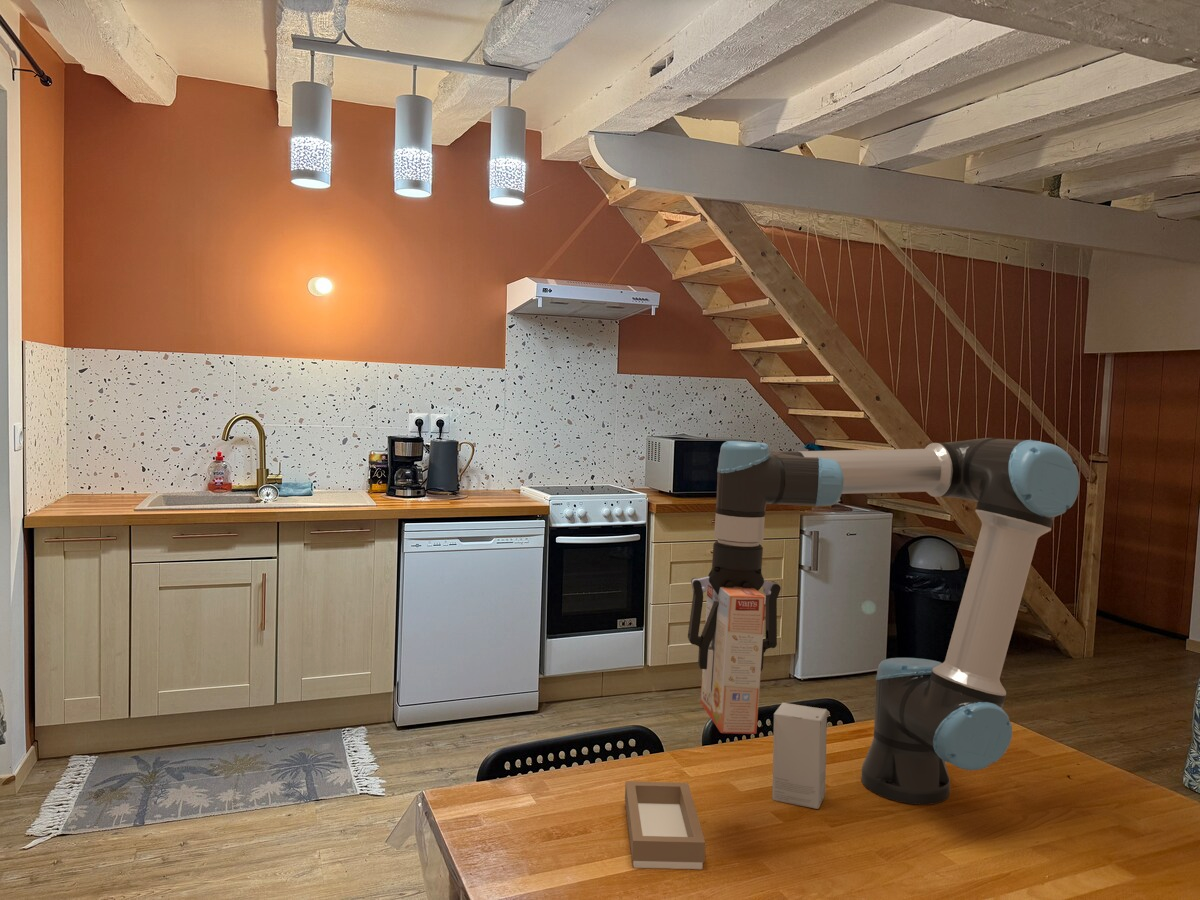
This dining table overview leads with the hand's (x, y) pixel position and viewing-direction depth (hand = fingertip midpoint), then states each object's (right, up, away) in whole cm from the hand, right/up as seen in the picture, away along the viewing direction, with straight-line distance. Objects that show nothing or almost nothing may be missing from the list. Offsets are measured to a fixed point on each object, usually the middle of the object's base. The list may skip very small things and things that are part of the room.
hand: (728, 690), depth 136 cm
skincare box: (+14, -24, +17) cm, 32 cm away
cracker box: (0, -5, 0) cm, 5 cm away
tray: (-10, -23, +2) cm, 25 cm away
